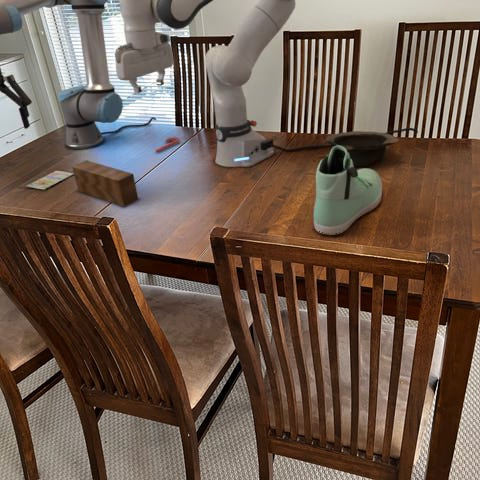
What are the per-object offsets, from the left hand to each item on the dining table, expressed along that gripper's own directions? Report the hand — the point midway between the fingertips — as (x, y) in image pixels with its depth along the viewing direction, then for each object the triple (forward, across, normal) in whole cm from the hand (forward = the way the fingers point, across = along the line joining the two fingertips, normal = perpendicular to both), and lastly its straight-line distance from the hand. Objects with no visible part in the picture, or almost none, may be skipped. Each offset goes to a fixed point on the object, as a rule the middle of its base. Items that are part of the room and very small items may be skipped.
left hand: (6, 129), depth 155 cm
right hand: (-10, +49, -4) cm, 50 cm away
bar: (+22, +30, -9) cm, 38 cm away
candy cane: (+22, +45, +33) cm, 60 cm away
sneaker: (+22, +106, -30) cm, 112 cm away
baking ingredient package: (+22, +6, +7) cm, 24 cm away
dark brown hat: (+22, +117, +7) cm, 119 cm away
